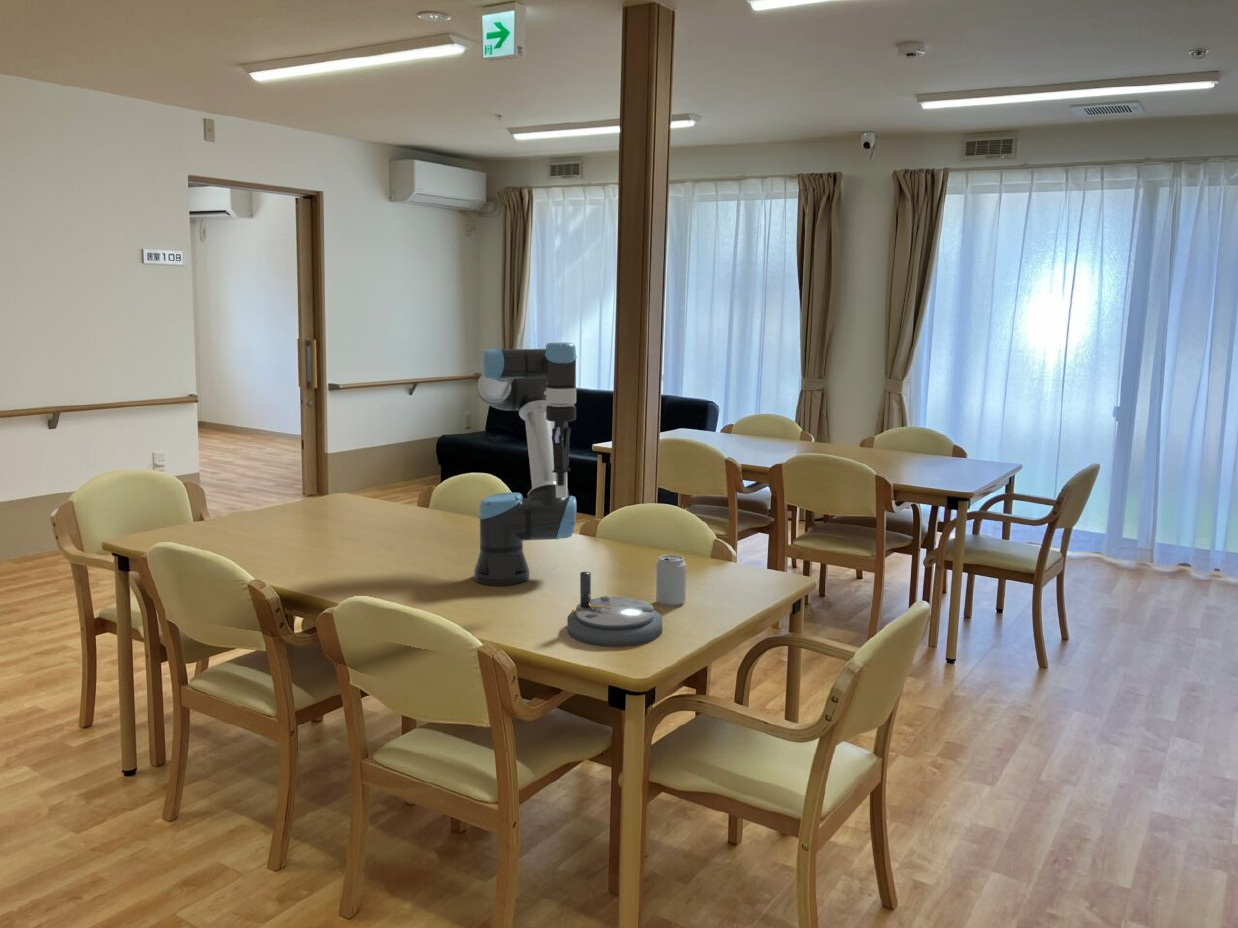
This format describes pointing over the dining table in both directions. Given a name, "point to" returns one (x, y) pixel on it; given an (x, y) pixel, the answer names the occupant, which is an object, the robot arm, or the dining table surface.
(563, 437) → the robot arm
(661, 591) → the can
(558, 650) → the dining table surface
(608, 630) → the base
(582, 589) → the peg stand
